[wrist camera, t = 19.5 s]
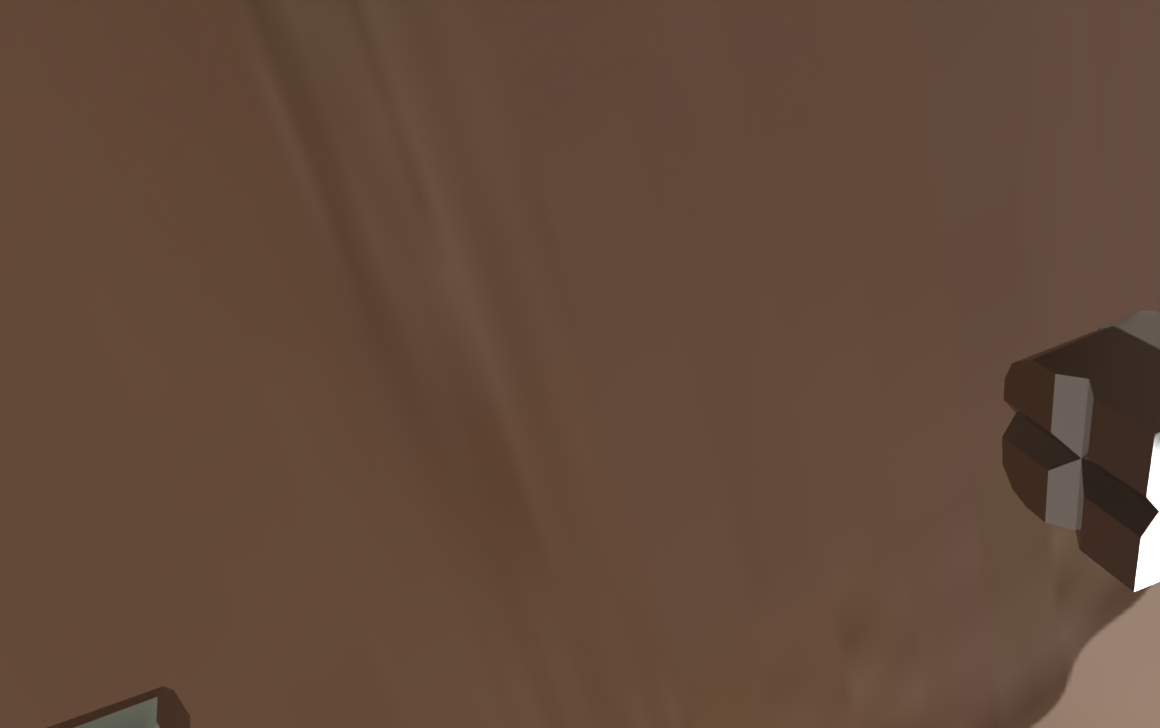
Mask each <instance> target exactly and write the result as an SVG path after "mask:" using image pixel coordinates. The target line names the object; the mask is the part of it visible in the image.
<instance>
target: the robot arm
mask: <svg viewBox="0 0 1160 728" xmlns="http://www.w3.org/2000/svg"><path fill="white" fill-rule="evenodd" d="M1004 401H1005V402H1006V403H1007V404H1008V405H1009V406H1010V407H1011V408H1012V409H1013V410H1014V411H1015V412H1016V414H1015V416H1014V418H1013V419H1012V421H1011V423H1010V424H1009V426H1008V428H1007V430H1006V431H1005V433H1004V435H1003V437H1002V450H1003V466H1004V469H1005V471H1006V474H1007V476H1008V479H1009V481H1010V484H1011V486H1012V489H1013V490H1014V492H1015V493H1016V494H1017V495H1018V497H1019V498H1020V499H1021V501H1022V502H1023V503H1024V505H1025V506H1026V507H1027V508H1028V509H1030V510H1031V511H1032V512H1033V513H1034V514H1036V515H1037V516H1038V517H1039V518H1040V519H1042V520H1043V521H1044V522H1046V523H1050V524H1054V525H1057V526H1061V527H1065V528H1069V529H1073V530H1076V535H1077V540H1078V544H1079V549H1080V550H1081V551H1082V552H1083V553H1085V554H1086V555H1087V556H1088V557H1090V558H1091V559H1092V560H1094V561H1095V562H1096V563H1097V564H1099V565H1100V566H1101V567H1103V568H1104V569H1105V570H1106V571H1108V572H1109V573H1110V574H1112V575H1113V576H1114V577H1115V578H1117V579H1118V580H1119V581H1120V582H1122V583H1123V584H1124V585H1126V586H1127V587H1128V588H1129V589H1131V590H1132V591H1133V592H1135V591H1138V590H1140V589H1143V588H1145V587H1147V586H1150V585H1152V584H1155V583H1157V582H1160V312H1153V311H1140V312H1138V313H1135V314H1133V315H1130V316H1128V317H1125V318H1123V319H1120V320H1118V321H1115V322H1113V323H1111V324H1108V325H1106V326H1103V327H1101V328H1099V329H1098V330H1097V331H1094V332H1091V333H1088V334H1086V335H1083V336H1081V337H1078V338H1076V339H1073V340H1070V341H1068V342H1065V343H1063V344H1060V345H1058V346H1055V347H1052V348H1050V349H1047V350H1045V351H1042V352H1040V353H1037V354H1034V355H1032V356H1029V357H1027V358H1024V359H1022V360H1019V361H1016V362H1014V363H1012V365H1011V367H1010V369H1009V371H1008V373H1007V375H1006V377H1005V386H1004ZM48 728H190V715H189V714H188V712H187V711H186V709H185V708H184V706H183V704H182V703H181V701H180V700H179V698H178V696H177V695H176V693H175V692H174V690H173V689H170V688H167V687H164V686H163V687H160V688H157V689H154V690H151V691H149V692H146V693H143V694H140V695H137V696H134V697H132V698H129V699H126V700H123V701H120V702H118V703H115V704H112V705H109V706H106V707H104V708H101V709H98V710H95V711H92V712H90V713H87V714H84V715H81V716H78V717H76V718H73V719H70V720H67V721H64V722H62V723H59V724H56V725H53V726H50V727H48Z"/></svg>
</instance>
